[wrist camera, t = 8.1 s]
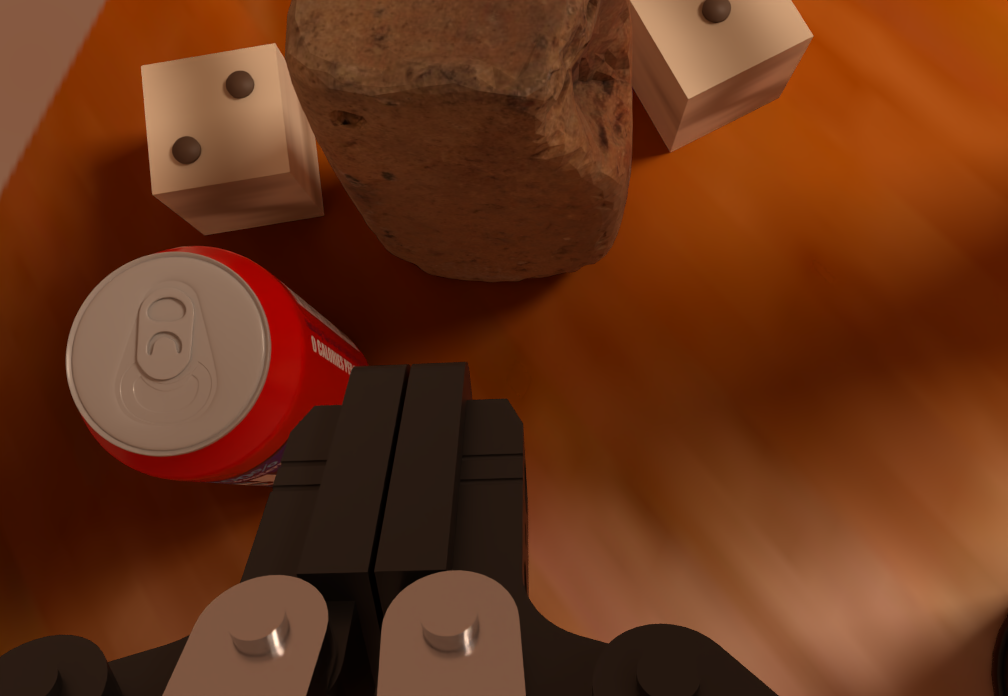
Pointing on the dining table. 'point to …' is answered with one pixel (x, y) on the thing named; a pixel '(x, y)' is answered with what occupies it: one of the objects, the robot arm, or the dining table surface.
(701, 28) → the dotted cube one
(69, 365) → the soda can
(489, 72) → the block
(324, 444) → the robot arm
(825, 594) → the dining table surface
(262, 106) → the dotted cube two
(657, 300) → the dining table surface
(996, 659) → the french press
